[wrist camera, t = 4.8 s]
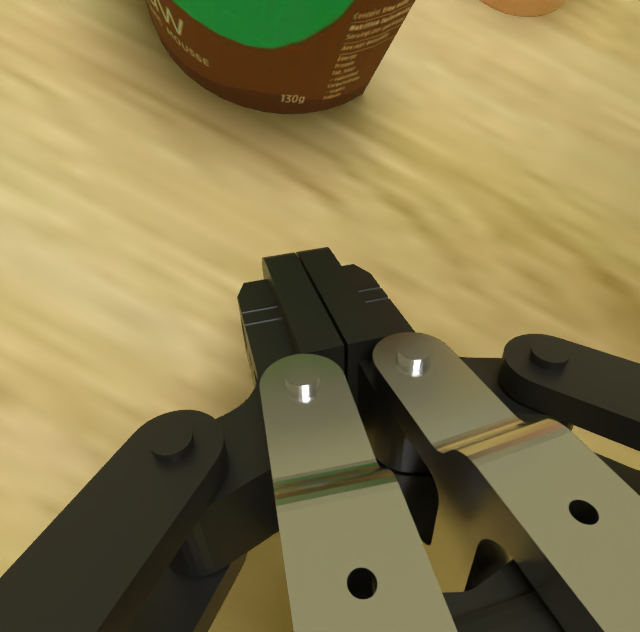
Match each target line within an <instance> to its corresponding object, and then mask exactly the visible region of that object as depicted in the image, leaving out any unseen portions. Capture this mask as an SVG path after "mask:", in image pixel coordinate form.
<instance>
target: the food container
mask: <svg viewBox="0 0 640 632" xmlns="http://www.w3.org/2000/svg"><path fill="white" fill-rule="evenodd" d="M414 2H415V0H146V3H147V6H148V9H149V13H150V16H151V18H152V21H153V23H154V25H155V28H156V30H157V33H158V35H159V37H160V40H161V42H162V44H163V46H164V47H165V49H166V50H167V51H168V53H169V54H170V56H171V57H172V59H173V60H174V61H175V62H176V63H177V64H178V65H179V66H180V67H181V69H182V70H183V71H184V72H185V73H186V74H187V75H188V76H190V77H191V78H192V79H193V80H195V81H196V82H197V83H199V84H200V85H201V86H203V87H204V88H205V89H207V90H209V91H211V92H212V93H214V94H216V95H218V96H219V97H221V98H223V99H225V100H228V101H230V102H233V103H236V104H238V105H241V106H243V107H247V108H251V109H255V110H259V111H263V112H272V113H281V114H298V113H310V112H316V111H321V110H327V109H330V108H332V107H335V106H338V105H341V104H344V103H346V102H348V101H350V100H352V99H354V98H355V97H357V96H359V95H361V94H363V92H364V90H365V89H366V87H367V85H368V83H369V82H370V80H371V78H372V76H373V75H374V73H375V71H376V69H377V67H378V66H379V64H380V62H381V60H382V59H383V57H384V55H385V53H386V51H387V50H388V48H389V46H390V44H391V43H392V41H393V39H394V37H395V35H396V34H397V32H398V30H399V28H400V27H401V25H402V23H403V21H404V19H405V18H406V16H407V14H408V12H409V11H410V9H411V7H412V5H413V3H414Z"/></svg>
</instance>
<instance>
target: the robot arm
mask: <svg viewBox="0 0 640 632" xmlns="http://www.w3.org/2000/svg"><path fill="white" fill-rule="evenodd" d="M262 267H263V276H264V280H259V281H253V282H247V283H244V284H243V286H242V288H241V290H240V292H239V295H238V297H237V298H238V304H239V310H240V316H241V322H242V329H243V335H244V341H245V347H246V353H247V357H248V361H249V365H250V369H251V373H252V377H253V381H254V385H255V389H254V391H253V393H252V394H251V395H250V397H249V398H248V399H247V400H246V401H245V402H244V403H243V404H242V405H240V406H239V407H238V408H236V409H234V410H233V411H231V412H229V413H227V414H225V415H223V416H221V417H219V418H217V419H214V418H213V417H211V416H210V415H208V414H206V413H203V412H200V411H195V410H178V411H173V412H169V413H165V414H162V415H160V416H158V417H155V418H153V419H152V420H150V421H148V422H147V423H145V424H144V425H143V426H141V427H140V428H139V429H138V430H137V431H136V432H135V433H134V434H133V435H132V436H131V437H130V438H129V439H128V440H127V441H126V442H125V443H124V445H123V446H122V447H121V448H120V449H119V450H118V451H117V452H116V453H115V454H114V455H113V456H112V458H111V459H110V460H109V461H108V462H107V463H106V464H105V465H104V466H103V467H102V468H101V469H100V471H99V472H98V473H97V474H96V475H95V476H94V477H93V478H92V479H91V480H90V481H89V482H88V484H87V485H86V486H85V487H84V488H83V489H82V490H81V491H80V492H79V493H78V494H77V495H76V497H75V498H74V499H73V500H72V501H71V502H70V503H69V504H68V505H67V506H66V507H65V508H64V510H63V511H62V512H61V513H60V514H59V515H58V516H57V517H56V518H55V519H54V520H53V521H52V523H51V524H50V525H49V526H48V527H47V528H46V529H45V530H44V531H43V532H42V533H41V534H40V536H39V537H38V538H37V539H36V540H35V541H34V542H33V543H32V544H31V545H30V546H29V547H28V549H27V550H26V551H25V552H24V553H23V554H22V555H21V556H20V557H19V558H18V559H17V560H16V561H15V563H14V564H13V565H12V566H11V567H10V568H9V569H8V570H7V571H6V572H5V573H4V574H3V576H2V577H1V578H0V632H208V630H209V628H210V626H211V625H212V623H213V621H214V619H215V617H216V615H217V613H218V611H219V609H220V608H221V606H222V604H223V602H224V600H225V598H226V596H227V594H228V592H229V591H230V589H231V587H232V585H233V583H234V581H235V579H236V577H237V576H238V574H239V572H240V570H241V568H242V566H243V564H244V562H245V559H246V556H247V552H248V551H249V550H251V549H252V548H254V547H255V546H257V545H258V544H260V543H261V542H263V541H264V540H266V539H267V538H269V537H270V536H272V535H273V534H275V533H276V532H278V531H280V538H281V545H282V552H283V559H284V566H285V573H286V581H287V588H288V595H289V602H290V609H291V616H292V623H293V630H294V632H640V471H639V470H635V469H633V468H630V467H628V466H626V465H623V464H621V463H618V462H616V461H614V460H611V459H609V458H606V457H604V456H602V455H599V454H597V453H594V452H593V451H592V450H591V449H589V448H588V447H587V446H586V445H585V444H584V443H583V442H582V441H581V440H580V439H579V438H578V437H577V436H576V435H575V434H574V433H573V432H571V430H572V428H573V426H574V425H575V426H578V427H580V428H583V429H585V430H588V431H590V432H593V433H595V434H598V435H600V436H603V437H605V438H608V439H610V440H613V441H615V442H618V443H620V444H623V445H625V446H628V447H630V448H633V449H635V450H638V451H640V364H639V363H636V362H633V361H630V360H626V359H623V358H620V357H617V356H614V355H611V354H608V353H604V352H601V351H598V350H595V349H592V348H589V347H586V346H582V345H579V344H576V343H573V342H570V341H567V340H564V339H561V338H557V337H553V336H549V335H543V334H527V335H521V336H518V337H515V338H513V339H512V340H510V341H509V342H508V343H507V344H506V346H505V348H504V352H503V356H502V358H466V357H458V356H457V355H456V354H455V353H454V351H453V350H452V349H451V348H450V347H449V346H447V345H446V344H445V343H444V342H442V341H441V340H439V339H437V338H435V337H433V336H430V335H427V334H422V333H416V332H415V331H414V330H413V329H412V328H411V326H410V325H409V324H408V322H407V321H406V320H405V318H404V317H403V316H402V314H401V313H400V312H399V310H398V309H397V308H396V306H395V305H394V304H393V303H392V301H391V300H390V299H388V296H387V295H386V293H385V292H384V291H383V289H382V288H380V285H379V284H378V283H377V281H376V280H375V279H374V278H373V276H372V275H371V274H370V273H369V272H367V271H365V270H363V269H361V268H360V267H358V266H356V265H354V264H351V265H346V266H341V265H340V263H339V262H338V260H337V259H336V257H335V256H334V254H333V253H332V251H331V250H330V249H329V248H328V247H325V248H318V249H312V250H306V251H300V252H296V254H295V253H288V254H282V255H276V256H270V257H263V258H262Z"/></svg>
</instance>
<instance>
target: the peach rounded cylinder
mask: <svg viewBox="0 0 640 632" xmlns="http://www.w3.org/2000/svg"><path fill="white" fill-rule="evenodd" d="M480 1H482V2H483V3H485V4H487V5H488V6H490V7H492V8H494V9H496V10H498V11H501V12H504V13H507V14H511V15H515V16H523V17H533V16H540V15H544V14H547V13H550V12H552V11H554V10H556V9H557V8H559V7H560V6H561V5H562V4H563V3H564V2H565V1H566V0H480Z"/></svg>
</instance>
